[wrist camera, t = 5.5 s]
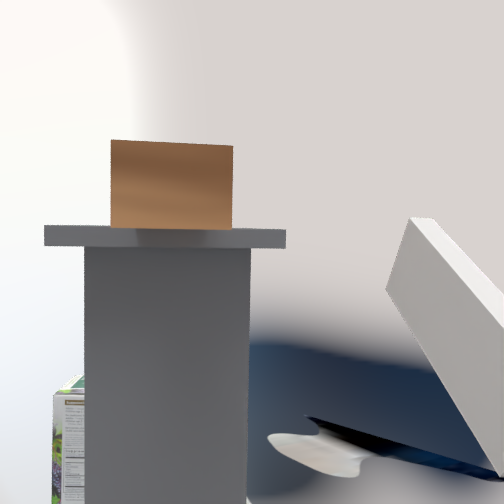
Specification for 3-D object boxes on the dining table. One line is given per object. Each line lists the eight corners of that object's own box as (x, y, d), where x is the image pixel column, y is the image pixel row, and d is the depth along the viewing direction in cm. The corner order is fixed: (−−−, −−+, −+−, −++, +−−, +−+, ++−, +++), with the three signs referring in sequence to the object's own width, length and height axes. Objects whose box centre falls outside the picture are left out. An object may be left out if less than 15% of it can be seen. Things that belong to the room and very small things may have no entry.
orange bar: (231, 230, 14) (233, 145, 14) (110, 227, 13) (110, 139, 13) (190, 227, 39) (190, 197, 39) (148, 226, 39) (148, 196, 39)
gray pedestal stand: (295, 788, 25) (309, 230, 24) (20, 845, 23) (15, 224, 21) (246, 572, 41) (253, 228, 39) (80, 591, 38) (80, 225, 37)
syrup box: (71, 503, 51) (71, 373, 50) (125, 503, 51) (126, 373, 50) (50, 539, 45) (49, 392, 44) (111, 538, 45) (112, 392, 44)
